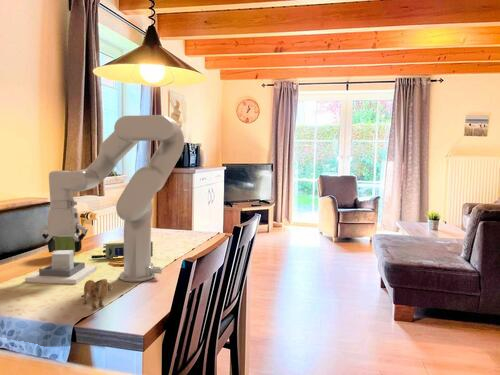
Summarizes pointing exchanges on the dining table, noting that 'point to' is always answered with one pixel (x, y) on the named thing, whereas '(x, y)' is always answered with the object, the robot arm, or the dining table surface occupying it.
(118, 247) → the handheld radio
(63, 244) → the plant pot
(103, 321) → the dining table surface
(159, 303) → the dining table surface
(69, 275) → the dock
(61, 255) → the product box
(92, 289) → the lion figurine
